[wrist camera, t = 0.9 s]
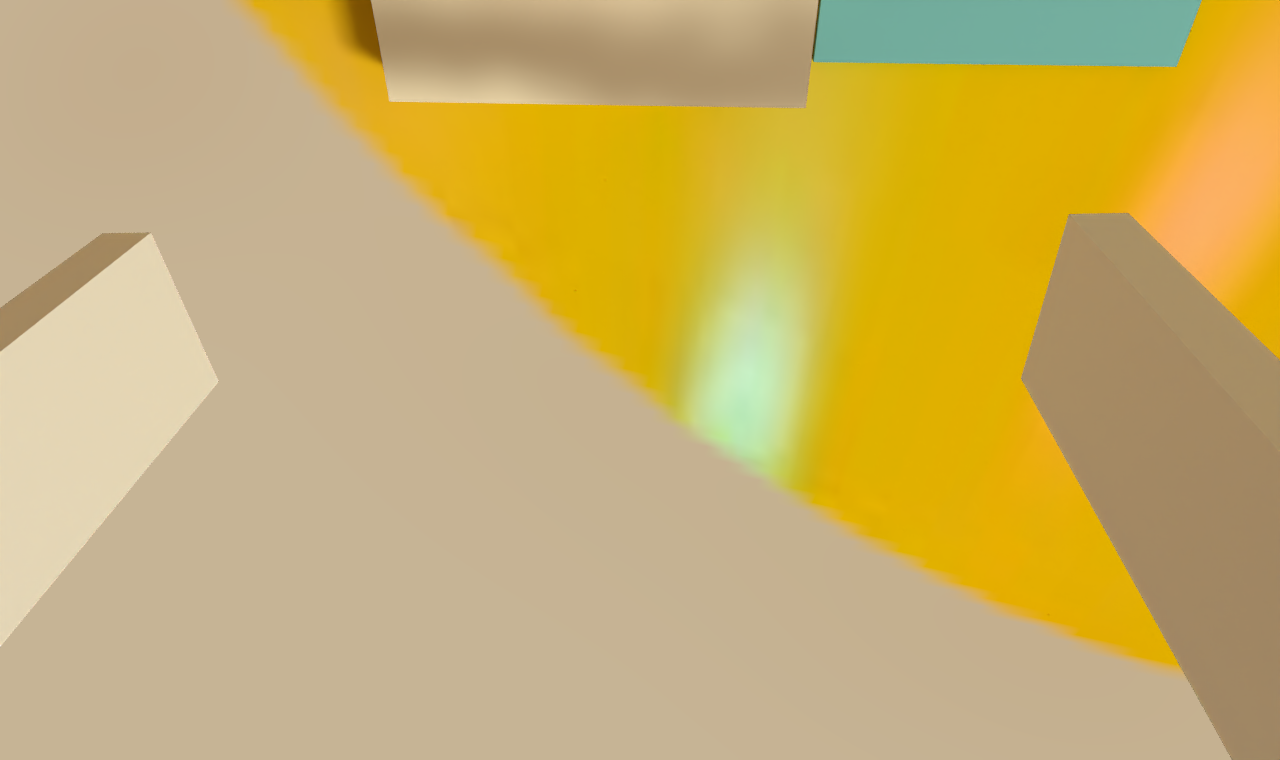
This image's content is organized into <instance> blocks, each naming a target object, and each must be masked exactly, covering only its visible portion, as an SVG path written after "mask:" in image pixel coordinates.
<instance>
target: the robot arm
mask: <svg viewBox="0 0 1280 760" xmlns="http://www.w3.org/2000/svg"><path fill="white" fill-rule="evenodd" d="M1021 379H1022V381H1023V383H1024V384H1025V386H1026V388H1027V390H1028V392H1029V393H1030V395H1031V397H1032V399H1033V401H1034V402H1035V404H1036V406H1037V408H1038V410H1039V411H1040V413H1041V415H1042V417H1043V419H1044V421H1045V422H1046V424H1047V426H1048V428H1049V430H1050V431H1051V433H1052V435H1053V437H1054V439H1055V440H1056V442H1057V444H1058V446H1059V448H1060V449H1061V451H1062V453H1063V455H1064V457H1065V459H1066V460H1067V462H1068V464H1069V466H1070V468H1071V469H1072V471H1073V473H1074V475H1075V477H1076V478H1077V480H1078V482H1079V484H1080V486H1081V487H1082V489H1083V491H1084V493H1085V495H1086V497H1087V498H1088V500H1089V502H1090V504H1091V506H1092V507H1093V509H1094V511H1095V513H1096V515H1097V516H1098V518H1099V520H1100V522H1101V524H1102V525H1103V527H1104V529H1105V531H1106V533H1107V535H1108V536H1109V538H1110V540H1111V542H1112V544H1113V545H1114V547H1115V549H1116V551H1117V553H1118V554H1119V556H1120V558H1121V560H1122V562H1123V563H1124V565H1125V567H1126V569H1127V571H1128V573H1129V574H1130V576H1131V578H1132V580H1133V582H1134V583H1135V585H1136V587H1137V589H1138V591H1139V592H1140V594H1141V596H1142V598H1143V600H1144V601H1145V603H1146V605H1147V607H1148V609H1149V611H1150V612H1151V614H1152V616H1153V618H1154V620H1155V621H1156V623H1157V625H1158V627H1159V629H1160V630H1161V632H1162V634H1163V636H1164V638H1165V639H1166V641H1167V643H1168V645H1169V647H1170V649H1171V650H1172V652H1173V654H1174V656H1175V658H1176V659H1177V661H1178V663H1179V665H1180V667H1181V668H1182V670H1183V672H1184V674H1185V676H1186V677H1187V679H1188V681H1189V683H1190V685H1191V687H1192V688H1193V690H1194V692H1195V694H1196V696H1197V697H1198V699H1199V701H1200V703H1201V705H1202V706H1203V708H1204V710H1205V712H1206V714H1207V715H1208V717H1209V719H1210V721H1211V722H1212V725H1213V726H1214V728H1215V730H1216V732H1217V733H1218V735H1219V737H1220V739H1221V741H1222V743H1223V744H1224V746H1225V748H1226V750H1227V752H1228V753H1229V755H1230V757H1231V759H1232V760H1280V360H1279V359H1278V358H1277V357H1276V356H1275V355H1274V354H1273V353H1272V352H1271V351H1270V350H1269V349H1268V348H1267V347H1266V346H1264V345H1263V344H1262V343H1261V342H1260V341H1259V340H1258V339H1257V338H1256V337H1255V336H1254V335H1253V334H1252V333H1251V332H1250V331H1249V330H1248V329H1247V328H1246V327H1245V326H1244V325H1243V324H1242V323H1241V322H1240V321H1239V320H1238V319H1237V318H1236V317H1235V316H1234V315H1233V314H1232V313H1230V312H1229V311H1228V310H1227V309H1226V308H1225V307H1224V306H1223V305H1222V304H1221V303H1220V302H1219V301H1218V300H1217V299H1216V298H1215V297H1214V296H1213V295H1212V294H1211V293H1210V292H1209V291H1208V290H1207V289H1206V288H1205V287H1204V286H1203V285H1202V284H1201V283H1200V282H1199V281H1198V280H1197V279H1195V278H1194V277H1193V276H1192V275H1191V274H1190V273H1189V272H1188V271H1187V270H1186V269H1185V268H1184V267H1183V266H1182V265H1181V264H1180V263H1179V262H1178V261H1177V260H1176V259H1175V258H1174V257H1173V256H1172V255H1171V254H1170V253H1169V252H1168V251H1167V250H1166V249H1165V248H1164V247H1163V246H1162V245H1160V244H1159V243H1158V242H1157V241H1156V240H1155V239H1154V238H1153V237H1152V236H1151V235H1150V234H1149V233H1148V232H1147V231H1146V230H1145V229H1144V228H1143V227H1142V226H1141V225H1140V224H1139V223H1138V222H1137V221H1136V220H1135V219H1134V218H1133V217H1132V216H1131V215H1130V214H1129V213H1110V214H1069V216H1068V220H1067V223H1066V227H1065V230H1064V233H1063V237H1062V240H1061V244H1060V247H1059V251H1058V254H1057V257H1056V261H1055V264H1054V268H1053V271H1052V275H1051V278H1050V281H1049V285H1048V288H1047V292H1046V295H1045V299H1044V302H1043V306H1042V309H1041V312H1040V316H1039V319H1038V323H1037V326H1036V330H1035V333H1034V336H1033V340H1032V343H1031V347H1030V350H1029V354H1028V357H1027V360H1026V364H1025V367H1024V371H1023V374H1022V378H1021ZM218 382H219V381H218V379H217V377H216V375H215V373H214V370H213V368H212V366H211V364H210V362H209V359H208V357H207V355H206V353H205V351H204V348H203V346H202V344H201V342H200V340H199V337H198V335H197V333H196V331H195V329H194V326H193V324H192V322H191V320H190V318H189V316H188V313H187V311H186V309H185V306H184V304H183V302H182V300H181V298H180V295H179V293H178V291H177V289H176V287H175V284H174V283H173V280H172V278H171V276H170V273H169V271H168V269H167V267H166V265H165V263H164V261H163V258H162V256H161V254H160V251H159V250H158V247H157V245H156V243H155V240H154V238H153V236H152V234H151V233H104V234H101V235H100V236H98V237H97V238H96V239H94V240H93V241H91V242H90V243H89V244H87V245H86V246H85V247H83V248H82V249H81V250H79V251H78V252H76V253H75V254H74V255H72V256H71V257H70V258H68V259H67V260H65V261H64V262H63V263H62V264H60V265H59V266H57V267H56V268H54V269H53V270H52V271H50V272H49V273H48V274H46V275H45V276H44V277H42V278H41V279H39V280H38V281H37V282H35V283H34V284H33V285H31V286H30V287H29V288H27V289H26V290H24V291H23V292H21V293H20V294H19V295H17V296H16V297H15V298H13V299H12V300H10V301H9V302H8V303H6V304H5V305H4V306H3V307H1V308H0V646H1V645H2V644H3V643H4V641H5V640H6V639H7V638H8V637H9V635H10V634H11V633H12V632H13V630H14V629H15V628H16V627H17V626H18V625H19V623H20V622H21V621H22V620H23V618H24V617H25V616H26V615H27V613H28V612H29V611H30V610H31V609H32V608H33V606H34V605H35V604H36V603H37V602H38V600H39V599H40V598H41V597H42V595H43V594H44V593H45V592H46V591H47V589H48V588H49V587H50V586H51V585H52V583H53V582H54V581H55V580H56V578H57V577H58V576H59V575H60V573H61V572H62V571H63V570H64V569H65V568H66V566H67V565H68V564H69V563H70V561H71V560H72V559H73V558H74V557H75V555H76V554H77V553H78V551H80V549H81V548H82V547H83V546H84V544H85V543H86V542H87V541H88V540H89V538H90V537H91V536H92V535H93V534H94V532H95V531H96V530H97V529H98V528H99V526H100V525H101V524H102V523H103V521H104V520H105V519H106V518H107V517H108V515H109V514H110V513H111V512H112V511H113V509H114V508H115V506H117V504H118V503H119V502H120V501H121V500H122V498H123V497H124V496H125V495H126V494H127V492H128V491H129V490H130V489H131V487H132V486H133V485H134V484H135V483H136V481H137V480H138V479H139V478H140V477H141V475H142V474H143V473H144V472H145V470H146V469H147V468H148V467H149V466H150V464H151V463H152V462H153V461H154V460H155V458H156V457H157V456H158V455H159V454H160V452H161V451H162V450H163V449H164V447H165V446H166V445H167V444H168V442H169V441H170V440H171V439H172V438H173V437H174V435H175V434H176V433H177V432H178V430H179V429H180V428H181V427H182V425H183V424H184V423H185V422H186V421H187V420H188V418H189V417H190V416H191V415H192V413H193V412H194V411H195V410H196V409H197V407H198V406H199V405H200V404H201V402H202V401H203V400H204V399H205V398H206V396H207V395H208V394H209V393H210V392H211V390H212V389H213V388H214V387H215V385H216V384H217V383H218Z"/></svg>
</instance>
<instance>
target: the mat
mask: <svg viewBox="0 0 1280 760" xmlns="http://www.w3.org/2000/svg"><path fill="white" fill-rule="evenodd" d="M1201 1H1202V0H820V5H819V13H818V22H817V30H816V38H815V47H814V55H813V61H814V62H856V63H934V64H1012V65H1090V66H1168V67H1176V66H1177V64H1178V61H1179V58H1180V56H1181V53H1182V51H1183V48H1184V45H1185V43H1186V40H1187V37H1188V35H1189V32H1190V29H1191V27H1192V24H1193V22H1194V19H1195V16H1196V14H1197V11H1198V8H1199V6H1200V3H1201Z"/></svg>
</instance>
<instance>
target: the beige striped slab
mask: <svg viewBox="0 0 1280 760" xmlns="http://www.w3.org/2000/svg"><path fill="white" fill-rule="evenodd" d="M371 3H372V8H373V14H374V19H375V25H376V30H377V35H378V41H379V46H380V52H381V57H382V62H383V68H384V73H385V79H386V84H387V90H388V95H389V100H390V101H392V102H456V103H520V104H584V105H648V106H712V107H775V108H806V101H807V92H808V84H809V76H810V67H811V59H812V51H813V42H814V34H815V25H816V17H817V9H818V0H371Z"/></svg>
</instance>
